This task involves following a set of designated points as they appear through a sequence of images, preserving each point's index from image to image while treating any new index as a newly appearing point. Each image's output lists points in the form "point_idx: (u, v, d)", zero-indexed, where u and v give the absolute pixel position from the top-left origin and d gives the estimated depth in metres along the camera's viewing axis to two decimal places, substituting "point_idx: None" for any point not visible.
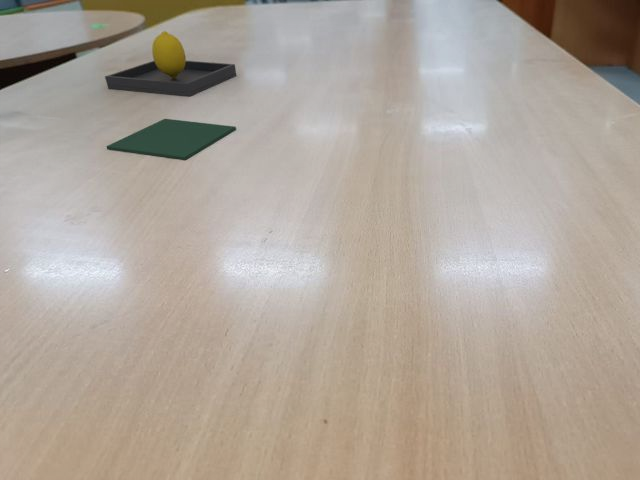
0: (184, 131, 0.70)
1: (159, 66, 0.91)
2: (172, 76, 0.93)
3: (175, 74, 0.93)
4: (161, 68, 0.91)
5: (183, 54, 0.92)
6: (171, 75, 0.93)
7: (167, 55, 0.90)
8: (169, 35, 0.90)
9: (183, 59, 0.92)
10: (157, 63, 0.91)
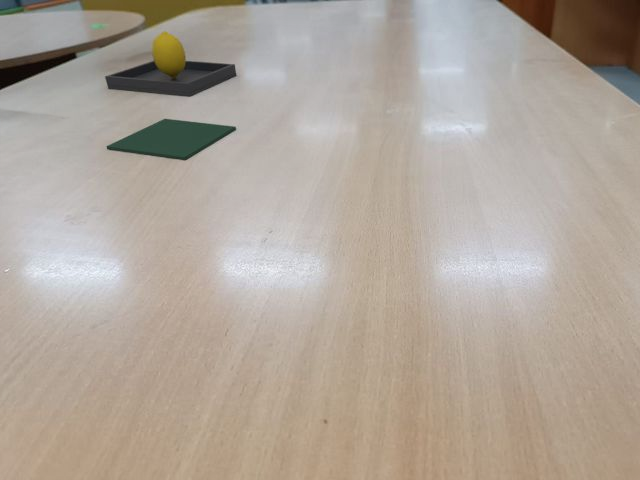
0: (184, 131, 0.70)
1: (159, 66, 0.91)
2: (172, 76, 0.93)
3: (175, 74, 0.93)
4: (161, 68, 0.91)
5: (183, 54, 0.92)
6: (171, 75, 0.93)
7: (167, 55, 0.90)
8: (169, 35, 0.90)
9: (183, 59, 0.92)
10: (157, 63, 0.91)
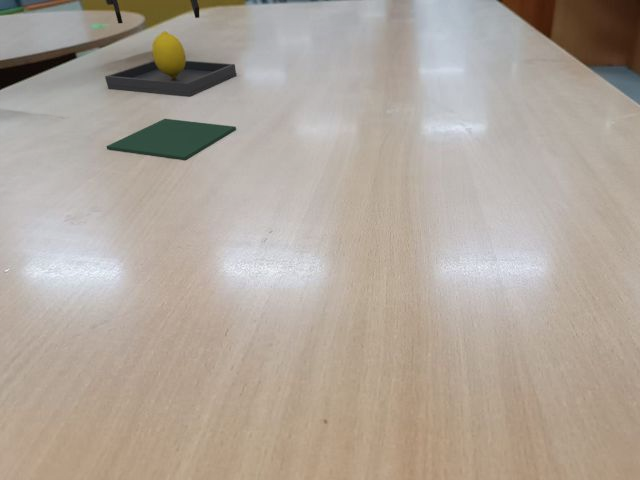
0: (184, 131, 0.70)
1: (159, 66, 0.91)
2: (172, 76, 0.93)
3: (175, 74, 0.93)
4: (161, 68, 0.91)
5: (183, 54, 0.92)
6: (171, 75, 0.93)
7: (167, 55, 0.90)
8: (169, 35, 0.90)
9: (183, 59, 0.92)
10: (157, 63, 0.91)
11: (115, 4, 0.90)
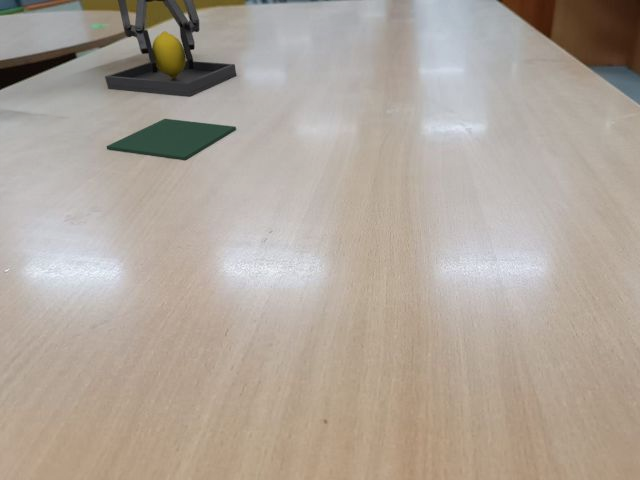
0: (184, 131, 0.70)
1: (159, 66, 0.91)
2: (172, 76, 0.93)
3: (175, 74, 0.93)
4: (161, 68, 0.91)
5: (183, 54, 0.92)
6: (171, 75, 0.93)
7: (167, 55, 0.90)
8: (169, 35, 0.90)
9: (183, 59, 0.92)
10: (157, 63, 0.91)
11: (151, 54, 0.88)
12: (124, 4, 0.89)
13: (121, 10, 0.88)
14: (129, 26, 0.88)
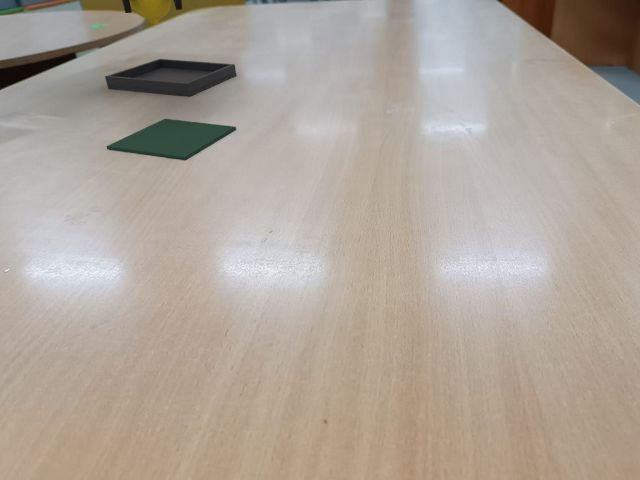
0: (184, 131, 0.70)
1: (134, 5, 0.66)
2: (153, 21, 0.68)
3: (157, 18, 0.68)
4: (137, 8, 0.66)
5: None
6: (151, 19, 0.68)
7: None
8: None
9: None
10: (131, 1, 0.65)
11: None
12: None
13: None
14: None
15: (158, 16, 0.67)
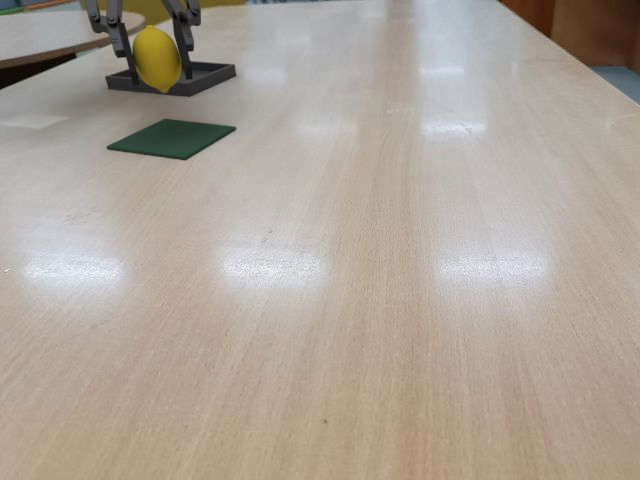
0: (184, 131, 0.70)
1: (143, 76, 0.62)
2: (162, 90, 0.65)
3: (166, 87, 0.64)
4: (146, 79, 0.63)
5: (178, 58, 0.63)
6: (160, 88, 0.64)
7: (154, 60, 0.61)
8: (157, 30, 0.61)
9: (178, 65, 0.63)
10: (140, 71, 0.62)
11: (129, 59, 0.59)
12: None
13: None
14: (97, 17, 0.59)
15: (167, 86, 0.64)
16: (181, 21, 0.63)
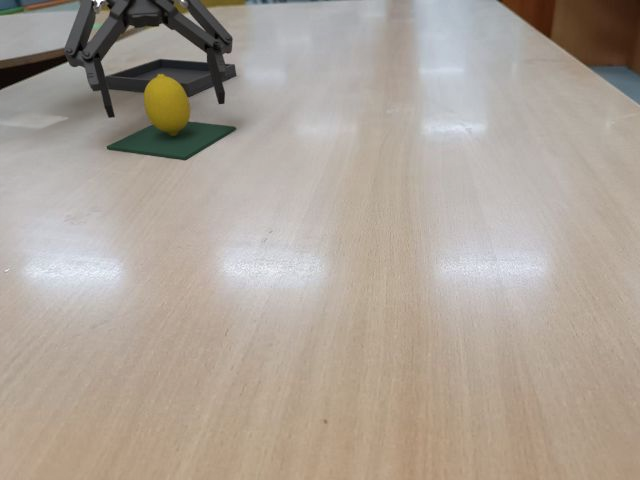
0: (184, 131, 0.70)
1: (153, 121, 0.66)
2: (172, 133, 0.68)
3: (176, 131, 0.68)
4: (156, 124, 0.66)
5: (187, 104, 0.66)
6: (170, 132, 0.68)
7: (165, 107, 0.64)
8: (167, 79, 0.64)
9: (187, 110, 0.66)
10: (151, 117, 0.65)
11: (104, 93, 0.61)
12: (82, 24, 0.62)
13: (73, 30, 0.62)
14: (72, 53, 0.61)
15: (177, 130, 0.67)
16: (216, 50, 0.67)
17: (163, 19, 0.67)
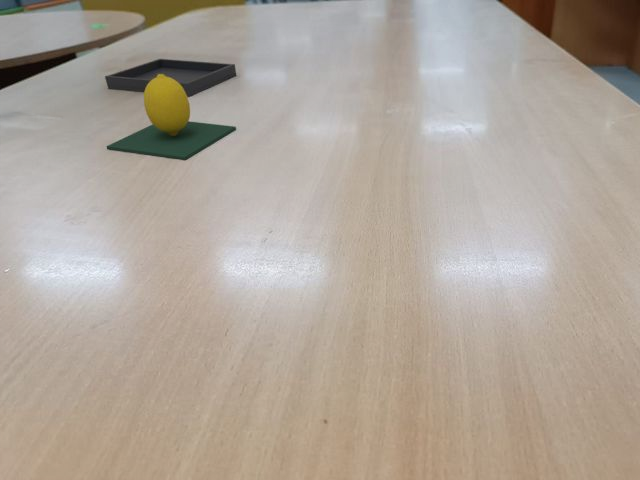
0: (184, 131, 0.70)
1: (153, 121, 0.66)
2: (172, 133, 0.68)
3: (176, 131, 0.68)
4: (156, 124, 0.66)
5: (187, 104, 0.66)
6: (170, 132, 0.68)
7: (165, 107, 0.64)
8: (167, 79, 0.64)
9: (187, 110, 0.66)
10: (151, 117, 0.65)
11: None
12: None
13: None
14: None
15: (177, 130, 0.67)
16: None
17: None
